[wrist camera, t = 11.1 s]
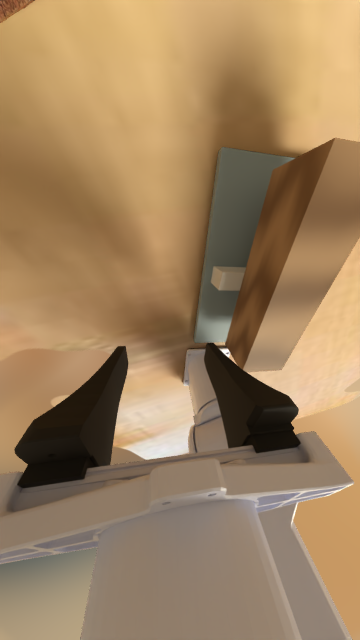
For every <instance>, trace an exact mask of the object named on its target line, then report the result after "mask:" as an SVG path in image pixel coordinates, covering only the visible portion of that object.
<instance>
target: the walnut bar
mask: <svg viewBox="0 0 360 640" xmlns="http://www.w3.org/2000/svg"><path fill="white" fill-rule="evenodd" d="M359 237H360V142H356V141H350V140H345V139H339V138H334V139H332V140H330V141H328V142H326V143H324V144H322V145H320V146H318V147H316V148H314V149H313V150H311V151H309V152H307V153H305V154H303V155H301V156H299V157H297V158H295V159H293V160H291V161H289V162H287V163H285V164H283V165H281V166H279V167H277V168H275V169H273V171H272V175H271V178H270V182H269V186H268V189H267V193H266V197H265V200H264V204H263V207H262V211H261V215H260V218H259V222H258V226H257V229H256V233H255V237H254V240H253V244H252V248H251V251H250V255H249V259H248V262H247V266H246V270H245V273H244V277H243V280H242V284H241V288H240V291H239V295H238V299H237V302H236V306H235V310H234V313H233V317H232V321H231V324H230V328H229V332H228V335H227V339H226V343H225V345H226V346H227V348H228V350H229V351H230V353H231V355H232V357H233V358H234V360H235V362H236V363H237V365H238V366H239V367H240V368H241V369H243V370H244V371H245V372H259V371H274V370H282V368H283V367H284V365H285V363H286V362H287V360H288V358H289V356H290V355H291V353H292V351H293V350H294V348H295V346H296V345H297V343H298V341H299V339H300V338H301V336H302V334H303V333H304V331H305V329H306V328H307V326H308V324H309V322H310V321H311V319H312V317H313V316H314V314H315V312H316V311H317V309H318V307H319V305H320V304H321V302H322V300H323V299H324V297H325V295H326V294H327V292H328V290H329V288H330V287H331V285H332V283H333V282H334V280H335V278H336V276H337V275H338V273H339V271H340V270H341V268H342V266H343V265H344V263H345V261H346V259H347V258H348V256H349V254H350V253H351V251H352V249H353V248H354V246H355V244H356V242H357V241H358V239H359Z"/></svg>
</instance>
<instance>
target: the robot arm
mask: <svg viewBox="0 0 360 640" xmlns="http://www.w3.org/2000/svg"><path fill="white" fill-rule="evenodd" d="M229 355H230V351H229V350H228V348H218V347H217V346H216V345H215V344H214V343H207V345H206V349H189V350H187V353H186V363H185V372H184V381H183V384H184V385H185V386H189V390H190V395H191V400H192V405H193V410H194V414H195V416H193V417H194V423H195V425H193V426H192V427H191V428H190V432H189V437H188V447H189V454H185V455H178V456H171V457H164V458H157V459H150V460H143V461H137V462H129V463H122V464H115V465H110V462H111V454H112V446H113V439H114V432H115V425H116V418H117V412H118V407H119V402H120V398H121V394H122V390H123V387H124V383H125V379H126V375H127V369H128V358H127V352H126V346H118V347H117V348H116V349H115V351H114V352H113V353H112V354H111V356H110V357H109V358H108V359H107V361H106V362H105V363H104V364H103V365H102V366H101V368H100V369H99V370H98V371H97V372H96V373H95V374H94V375H93V376H92V377H91V378H90V379H89V380H88V381H87V382H86V383H85V384H83V385H82V386H81V387H80V388H79V389H78V390H76V391H75V392H74V393H73V394H71V395H70V396H69V397H68V398H66V399H65V400H63V401H62V402H61V403H59V404H58V405H56V406H55V407H54V408H52V409H51V410H49V411H47V412H46V413H45V414H43V415H41V416H40V417H38V418H37V419H35V420H33V422H32V423H31V425H30V426H29V427H28V429H27V430H26V432H25V434H24V435H23V437H22V438H21V440H20V441H19V443H18V444H17V446H16V448H15V454H16V455H17V456H18V457H19V458H20V459H22V460H23V461H24V462H25V463H27V464H28V466H27V468H26V470H25V471H24V473H23V472H10V473H3V474H0V564H3V563H8V562H13V561H19V560H25V559H30V558H36V557H42V556H48V555H54V554H60V553H66V552H71V551H77V550H83V549H89V548H95V547H97V553H96V558H95V564H94V568H93V574H92V579H91V585H90V590H89V595H88V600H87V606H86V611H85V616H84V622H83V627H82V633H81V637H80V640H352V638H351V636H350V634H349V632H348V630H347V628H346V626H345V624H344V622H343V620H342V618H341V616H340V614H339V612H338V610H337V608H336V606H335V604H334V602H333V600H332V598H331V596H330V594H329V592H328V590H327V588H326V586H325V584H324V582H323V580H322V578H321V576H320V574H319V572H318V570H317V568H316V566H315V564H314V562H313V560H312V558H311V556H310V554H309V552H308V550H307V548H306V546H305V544H304V542H303V540H302V538H301V536H300V534H299V532H298V530H297V528H296V526H295V524H294V522H293V518H294V515H295V511H296V508H297V505H298V502H302V501H306V500H311V499H315V498H320V497H324V496H329V495H331V494H333V493H335V492H337V491H340V490H342V489H344V488H346V487H348V486H350V485H353V484H354V481H353V480H352V479H351V477H350V476H349V475H348V474H347V472H346V471H345V470H344V468H343V467H342V466H341V464H340V463H339V462H338V461H337V459H336V458H335V457H334V455H333V454H332V453H331V452H330V450H329V449H328V448H327V446H326V445H325V444H324V443H323V441H322V440H321V439H320V438H319V436H318V435H317V434H316V432H314V431H313V432H304V433H299V434H297V435H295V433H294V432H293V429H294V427H293V426H292V424H291V422H292V420H293V419H294V418H295V417H296V416H297V414H298V411H299V409H298V407H297V406H296V405H295V404H294V402H293V401H292V400H291V398H290V397H289V396H288V395H286V394H283V393H281V392H279V391H277V390H275V389H273V388H271V387H269V386H268V385H266V384H264V383H262V382H260V381H259V380H257V379H256V378H254V377H252V376H251V375H249V374H248V373H247V372H245V371H244V370H243V369H241V368H240V367H239V366H237V365H236V364H235V363H234V362H233V361H232V360H230V359H229Z"/></svg>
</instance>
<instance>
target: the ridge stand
mask: <svg viewBox="0 0 360 640" xmlns="http://www.w3.org/2000/svg"><path fill="white" fill-rule="evenodd" d="M293 159H295V158H291V157H285V156H278V155H272V154H265V153H259V152H252V151H246V150H239V149H232V148H226V147H222V148H221V149H220V150H219V152H218V158H217V166H216V173H215V181H214V188H213V196H212V204H211V211H210V219H209V226H208V234H207V241H206V249H205V256H204V264H203V271H202V279H201V287H200V294H199V302H198V309H197V317H196V324H195V332H194V342H195V343H206V342H226V339H227V335H228V332H229V328H230V324H231V321H232V317H233V313H234V310H235V306H236V302H237V299H238V295H239V291H240V288H241V284H242V280H243V277H244V273H245V270H246V266H247V262H248V259H249V255H250V251H251V248H252V244H253V240H254V237H255V233H256V229H257V226H258V222H259V218H260V215H261V211H262V207H263V204H264V200H265V197H266V193H267V189H268V186H269V182H270V178H271V175H272V171H273V169H275V168H277V167H279V166H281V165H283V164H285V163H287V162H289V161H291V160H293Z"/></svg>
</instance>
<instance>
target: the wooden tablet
mask: <svg viewBox="0 0 360 640" xmlns="http://www.w3.org/2000/svg"><path fill="white" fill-rule="evenodd" d="M33 1H34V0H0V23H1V22H3V21H4V20H6V19H7V18H8V17H10V16H11V15H13V14H14V13H16V12H18V11H19V10H21V9H22V8H25V7H26V6H27V5H29V4H30V3H31V2H33Z"/></svg>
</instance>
